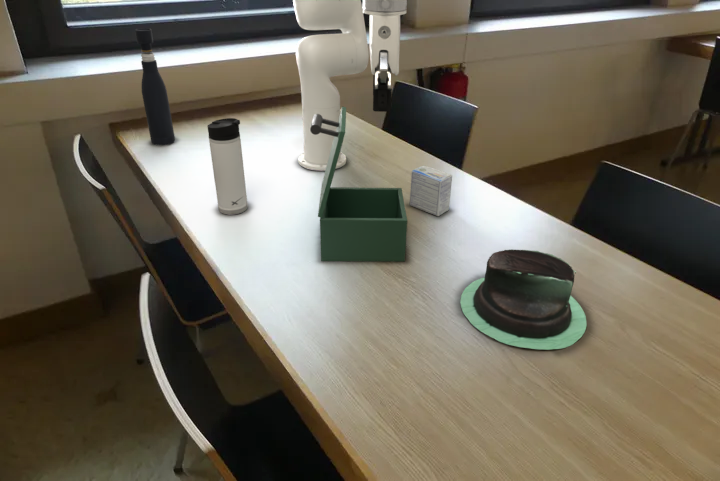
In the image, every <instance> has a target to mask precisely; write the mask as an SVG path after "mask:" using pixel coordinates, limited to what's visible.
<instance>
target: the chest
mask: <svg viewBox="0 0 720 481" xmlns="http://www.w3.org/2000/svg"><path fill="white" fill-rule="evenodd" d="M407 231H408V217H407V211H406V206H405V200H404V195H403V188H402V187H357V186H356V187H355V186H354V187H347V186H344V187H343V186H342V187H341V186H339V187H337V186H331V187H330V191H329V194H328V198H327V202H326V205H325V209H324V213H323V216H322V218H321V217H319V232H320V234H319V236H320V237H319V238H320V262H397V263H398V262H399V263H400V262H402V263H403V262H405V260H406V247H407V246H406V245H407V233H408V232H407Z"/></svg>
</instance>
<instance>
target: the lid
mask: <svg viewBox="0 0 720 481" xmlns="http://www.w3.org/2000/svg"><path fill="white" fill-rule="evenodd" d="M346 121H347V107H346V106H341V108H340V117H339V120H338V122H334V121H331V120H327V119H323V118H322V116H321V115H320V114H315V115H314V116H313V118H312V123H311V128H310V131H311V133H312V134H314V135H317V134H319V133H324V134H327V135H331V136H334V140H333V143H332V147H331V151H330V155H329V159H328V163H327V166H326V170H325V171H324V174H323V178H322V181H321V188H320V195H319V203H318V211H317V217H318V218H320V217H321V218H322V216H323V213H324V209H325V205H326V202H327V198H328V194H329V191H330V187H332V182H333V179H334V176H335V172H336V169H335V168H336V165H337V161H338V157H339V154H340V152H341V150H342V146H343V143H344V138H345V135H346V125H347V123H346ZM322 123H323V124H327V125H331V126H335V127H337V128H336V131H332V130H328V129H325V128H321V126H322Z"/></svg>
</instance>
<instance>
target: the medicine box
mask: <svg viewBox="0 0 720 481" xmlns="http://www.w3.org/2000/svg"><path fill="white" fill-rule="evenodd" d="M410 177H411V178H410V192H409V193H410V194H409V206H411V207H413V208H415V209H418V210H420V211H423V212H425V213H429V214H430V215H433V216H436V217H440V216H441V215H443V214H444V213H446V212H448V211H449V210H450V205H451V204H450V203H451V192H452V182H453V174H451V173H448V172H445V171H442V170H439V169H436V168H433V167H431V166H427V165H421V166H418V167H416V168H415V169H412V170H411V175H410Z"/></svg>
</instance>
